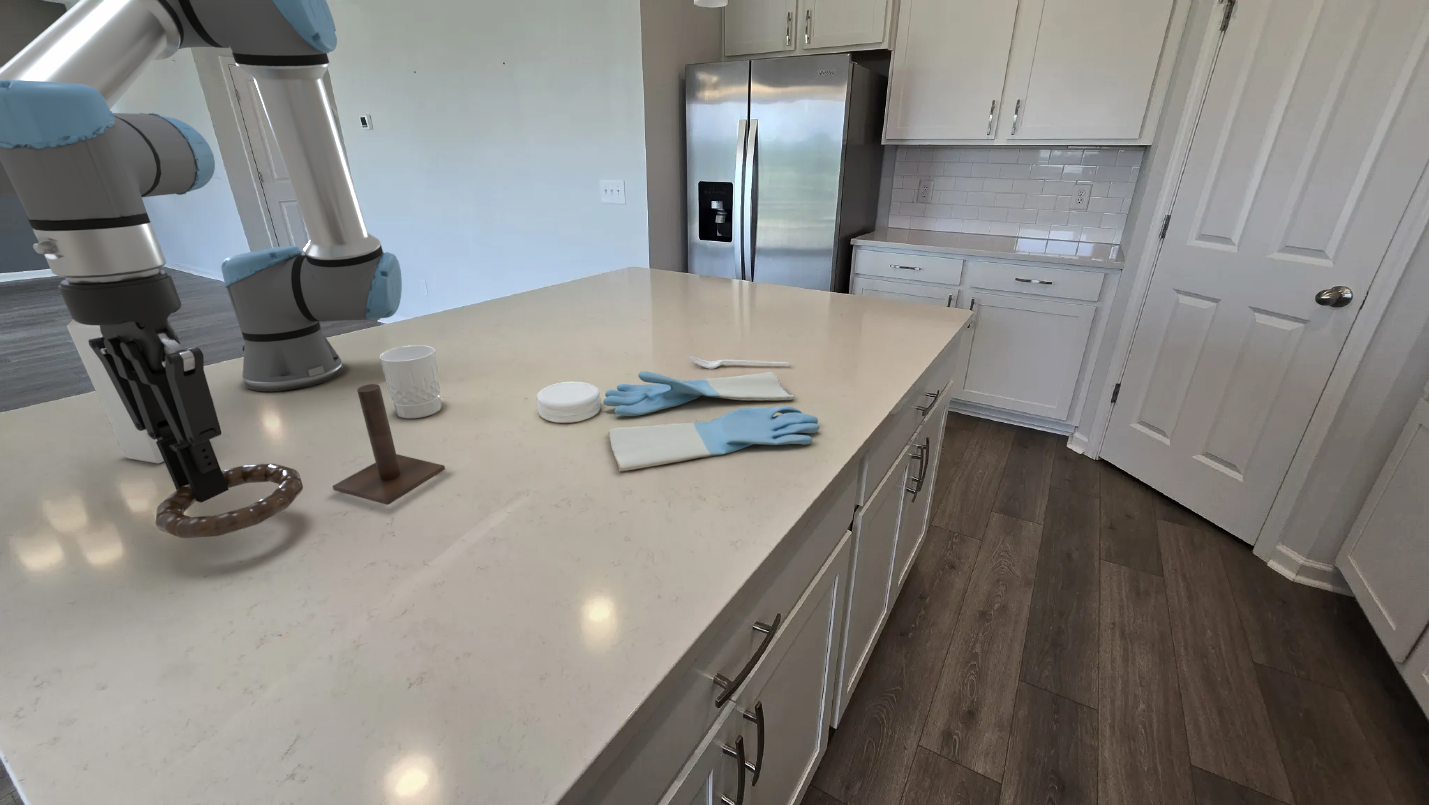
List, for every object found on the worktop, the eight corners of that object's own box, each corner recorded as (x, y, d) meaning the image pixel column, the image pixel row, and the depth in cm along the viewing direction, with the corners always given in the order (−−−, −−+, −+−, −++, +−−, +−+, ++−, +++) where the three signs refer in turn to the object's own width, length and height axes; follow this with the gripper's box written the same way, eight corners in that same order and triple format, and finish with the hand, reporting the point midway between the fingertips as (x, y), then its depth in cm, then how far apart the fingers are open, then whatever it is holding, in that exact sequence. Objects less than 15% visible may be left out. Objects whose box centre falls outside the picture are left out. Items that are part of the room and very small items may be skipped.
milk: (125, 459, 80) (52, 301, 72) (172, 439, 86) (110, 290, 77) (159, 464, 79) (89, 304, 70) (204, 444, 84) (144, 293, 76)
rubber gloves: (838, 443, 86) (842, 403, 84) (618, 473, 78) (615, 430, 75) (770, 378, 110) (772, 346, 108) (596, 396, 102) (593, 361, 99)
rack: (335, 496, 72) (305, 395, 67) (395, 462, 80) (372, 370, 75) (389, 511, 69) (363, 407, 64) (446, 475, 77) (427, 380, 72)
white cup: (425, 422, 92) (412, 362, 88) (381, 418, 93) (367, 358, 89) (455, 403, 99) (445, 346, 95) (414, 399, 100) (402, 343, 96)
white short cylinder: (526, 411, 96) (524, 391, 94) (577, 394, 103) (576, 375, 101) (561, 430, 90) (559, 409, 88) (613, 410, 96) (611, 391, 95)
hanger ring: (132, 525, 58) (124, 508, 57) (255, 468, 68) (250, 453, 68) (211, 554, 54) (203, 536, 54) (329, 489, 65) (324, 473, 64)
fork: (790, 369, 115) (790, 360, 114) (689, 368, 115) (688, 359, 114) (788, 364, 118) (789, 355, 117) (690, 362, 118) (689, 354, 117)
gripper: (11, 274, 52) (118, 495, 62) (113, 290, 47) (212, 528, 57) (114, 260, 59) (196, 462, 68) (214, 273, 54) (287, 489, 64)
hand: (203, 492), depth 63 cm, fingers closed on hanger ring, 2 cm apart
